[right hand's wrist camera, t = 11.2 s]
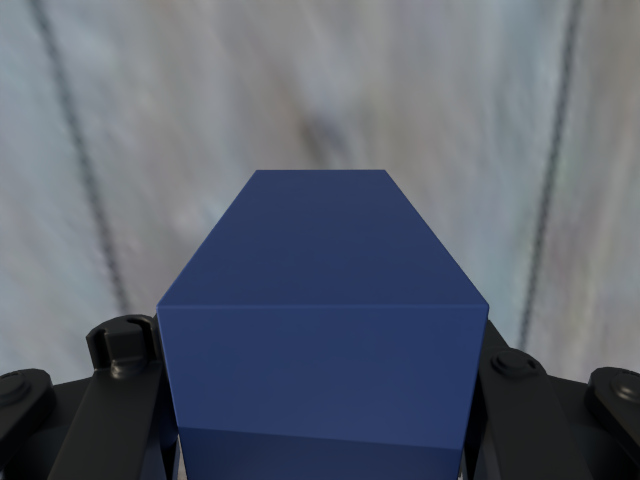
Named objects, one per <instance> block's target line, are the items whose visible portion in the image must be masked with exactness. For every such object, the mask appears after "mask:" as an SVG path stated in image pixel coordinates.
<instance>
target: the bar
mask: <svg viewBox="0 0 640 480" xmlns="http://www.w3.org/2000/svg"><path fill="white" fill-rule="evenodd" d="M156 311H157V317H158V322H159V328H160V333H161V339H162V344H163V350H164V355H165V361H166V366H167V372H168V377H169V382H170V388H171V393H172V399H173V404H174V410H175V415H176V421H177V426H178V432H179V437H180V443H181V448H182V453H183V459H184V464H185V470H186V475H187V480H458V475H459V470H460V464H461V459H462V454H463V448H464V443H465V437H466V432H467V426H468V421H469V416H470V410H471V405H472V399H473V394H474V389H475V383H476V378H477V372H478V367H479V361H480V356H481V351H482V345H483V340H484V334H485V329H486V324H487V318H488V313H489V304H488V303H487V302H486V300H485V299H484V298H483V296H482V295H481V294H480V292H479V291H478V290H477V289H476V287H475V286H474V285H473V283H472V282H471V281H470V280H469V278H468V277H467V276H466V274H465V273H464V272H463V270H462V269H461V268H460V267H459V265H458V264H457V263H456V261H455V260H454V259H453V257H452V256H451V255H450V254H449V252H448V251H447V250H446V248H445V247H444V246H443V244H442V243H441V242H440V241H439V239H438V238H437V237H436V235H435V234H434V233H433V232H432V230H431V229H430V228H429V226H428V225H427V224H426V222H425V221H424V220H423V219H422V217H421V216H420V215H419V213H418V212H417V211H416V209H415V208H414V207H413V206H412V204H411V203H410V202H409V200H408V199H407V198H406V197H405V195H404V194H403V193H402V191H401V190H400V189H399V187H398V186H397V185H396V184H395V182H394V181H393V180H392V178H391V177H390V176H389V174H388V173H387V172H386V171H385V170H256V171H255V173H254V174H253V175H252V177H251V178H250V179H249V181H248V182H247V183H246V185H245V186H244V187H243V189H242V190H241V192H240V193H239V194H238V196H237V197H236V198H235V200H234V201H233V202H232V204H231V205H230V206H229V208H228V209H227V211H226V212H225V213H224V215H223V216H222V217H221V219H220V220H219V221H218V223H217V224H216V225H215V227H214V228H213V229H212V231H211V232H210V234H209V235H208V236H207V238H206V239H205V240H204V242H203V243H202V244H201V246H200V247H199V248H198V250H197V251H196V253H195V254H194V255H193V257H192V258H191V259H190V261H189V262H188V263H187V265H186V266H185V267H184V269H183V270H182V272H181V273H180V274H179V276H178V277H177V278H176V280H175V281H174V282H173V284H172V285H171V286H170V288H169V289H168V291H167V292H166V293H165V295H164V296H163V297H162V299H161V300H160V301H159V303H158V304H157V306H156Z"/></svg>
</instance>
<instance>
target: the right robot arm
mask: <svg viewBox="0 0 640 480" xmlns="http://www.w3.org/2000/svg"><path fill="white" fill-rule="evenodd" d="M86 340H87V344H88V348H89V352H90V355H91V359H92V363H93V366H94V370H95V371H94V374H93V376H92V377H89V378H85V379H81V380H77V381H72V382H67V383H63V384H58V385H53V384H52V381H51V378H50V375H49V374H48V373H46V372H45V371H44V370H40V369H24V370H18V371H13V372H11V373H7V374H4V375H2V376H0V480H177V476H178V467H179V458H180V447H179V441H178V434H179V432H178V426H177V421H176V415H175V410H174V404H173V399H172V393H171V388H170V382H169V377H168V372H167V366H166V361H165V355H164V350H163V344H162V339H161V333H160V328H159V322H158V317H157V313H156V315H155V316H154V317H153V318H152V317H150V316H146V315H126V316H121V317H116V318H113V319H111V320H108V321H106V322H103V323H102V324H100V325H98V326H97V327H95V328H94V329H92V330H91V331H90V333H89V334H88V335H87V336H86ZM461 473H462V476H463V480H640V374H639V373H636V372H633V371H629V370H626V369H622V368H614V367H603V368H597V369H596V370H595V371H594V372H592V373H591V376H590V379H589V382H588V384H586V383H581V382H576V381H571V380H567V379H562V378H557V377H554V376H550V375H547V373H546V371H545V369H544V368H543V367H542V365H541V364H540V363H539V362H538V361H537V360H536V359H534V358H533V357H532V356H530V355H529V354H526V353H524V352H522V351H520V350H518V349H514V348H510V347H509V346H508V345H507V343H506V342H505V340H504V339H503V338H502V336H501V335H500V334H499V332H498V331H497V329H496V328H495V327H494V325H493V324H492V322H491V321H490V320H488V318H487V324H486V329H485V334H484V340H483V345H482V351H481V356H480V361H479V367H478V372H477V378H476V383H475V389H474V394H473V399H472V405H471V410H470V416H469V421H468V426H467V432H466V437H465V443H464V448H463V454H462V459H461V464H460V470H459V475H458V477H460V478H461Z"/></svg>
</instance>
